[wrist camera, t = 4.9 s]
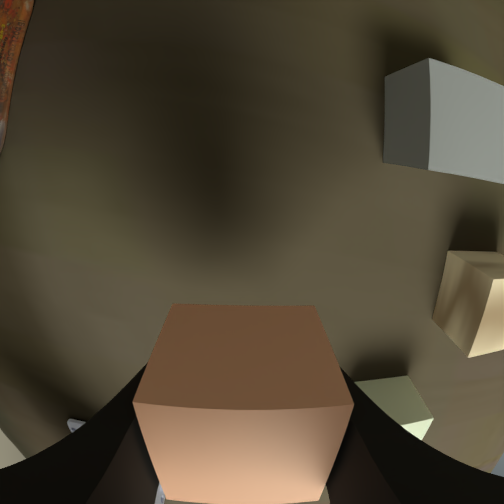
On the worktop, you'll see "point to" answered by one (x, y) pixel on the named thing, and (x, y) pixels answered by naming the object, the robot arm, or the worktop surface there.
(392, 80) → the slate block
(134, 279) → the worktop surface
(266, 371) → the terracotta block
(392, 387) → the sage block
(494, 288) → the maple block
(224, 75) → the worktop surface
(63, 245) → the worktop surface
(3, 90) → the tin
